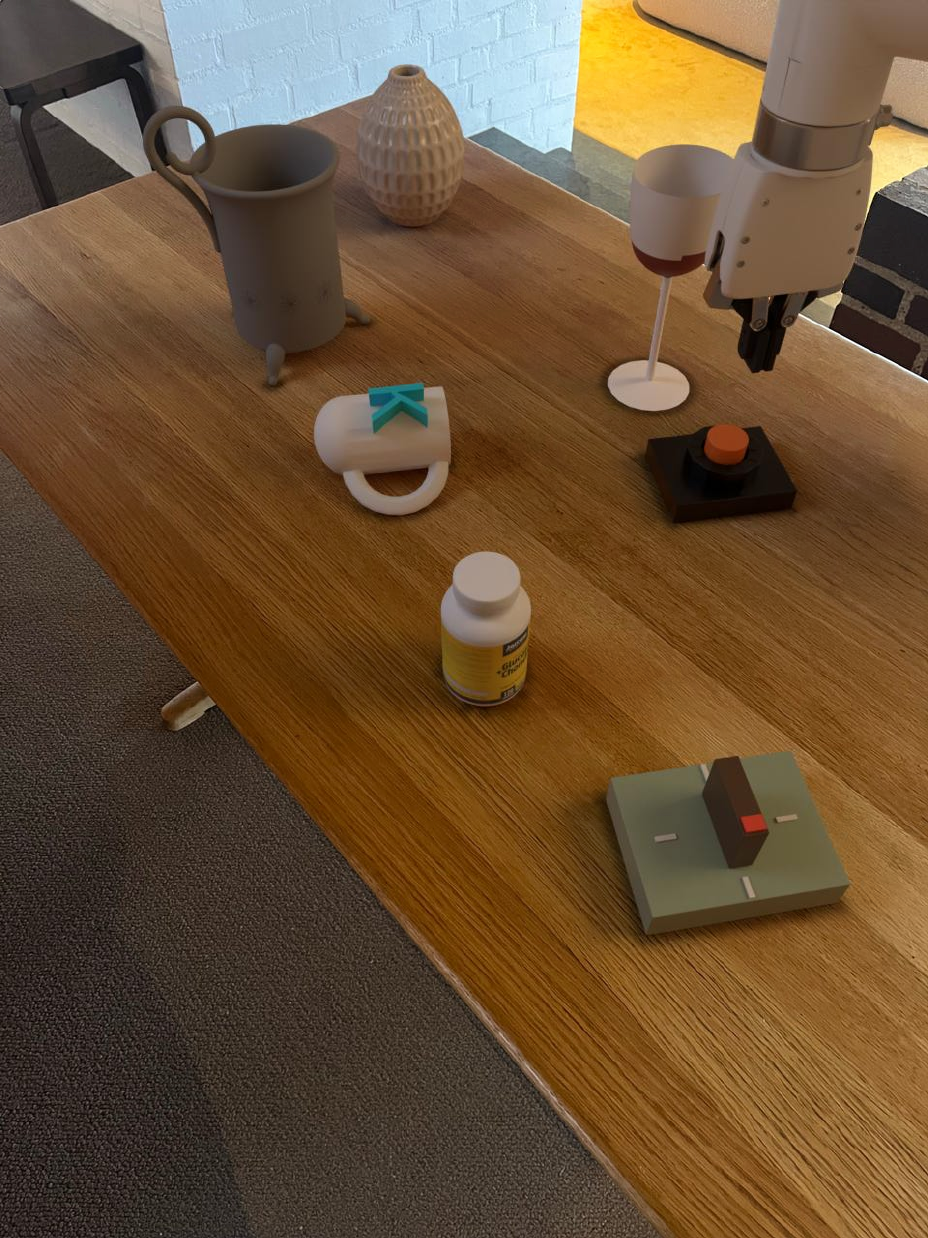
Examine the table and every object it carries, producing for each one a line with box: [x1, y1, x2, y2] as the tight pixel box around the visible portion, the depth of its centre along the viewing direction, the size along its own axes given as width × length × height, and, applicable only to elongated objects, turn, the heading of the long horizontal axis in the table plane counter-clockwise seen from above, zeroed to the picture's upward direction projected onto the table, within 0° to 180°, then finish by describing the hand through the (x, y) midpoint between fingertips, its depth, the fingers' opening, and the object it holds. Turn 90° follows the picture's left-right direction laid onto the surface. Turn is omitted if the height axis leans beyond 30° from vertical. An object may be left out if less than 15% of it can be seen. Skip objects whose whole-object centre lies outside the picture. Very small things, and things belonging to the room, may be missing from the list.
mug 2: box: [313, 382, 452, 516], centre depth 86 cm, size 12×9×12 cm
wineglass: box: [607, 143, 734, 412], centre depth 89 cm, size 9×10×22 cm
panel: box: [605, 750, 851, 936], centre depth 64 cm, size 13×10×3 cm
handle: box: [702, 755, 769, 869], centre depth 61 cm, size 6×2×5 cm, turn 9°
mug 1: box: [142, 105, 371, 387], centre depth 93 cm, size 19×15×25 cm
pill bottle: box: [440, 551, 532, 707], centre depth 70 cm, size 6×6×12 cm
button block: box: [644, 424, 798, 524], centre depth 87 cm, size 11×9×4 cm
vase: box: [355, 63, 466, 228], centre depth 113 cm, size 13×13×17 cm
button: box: [704, 423, 749, 465], centre depth 85 cm, size 4×4×2 cm
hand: (755, 361), depth 78 cm, fingers closed
